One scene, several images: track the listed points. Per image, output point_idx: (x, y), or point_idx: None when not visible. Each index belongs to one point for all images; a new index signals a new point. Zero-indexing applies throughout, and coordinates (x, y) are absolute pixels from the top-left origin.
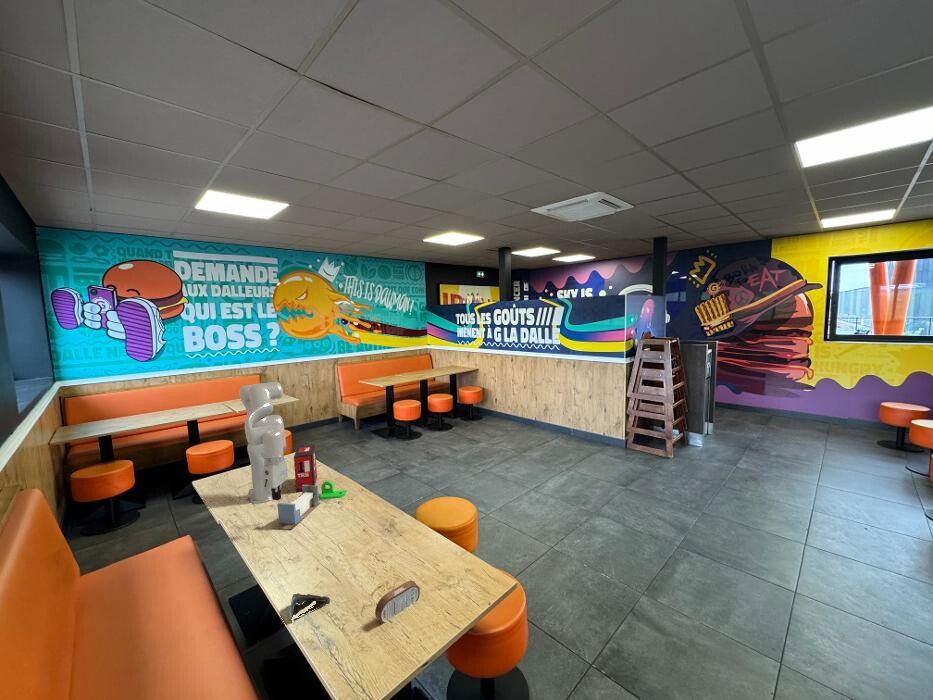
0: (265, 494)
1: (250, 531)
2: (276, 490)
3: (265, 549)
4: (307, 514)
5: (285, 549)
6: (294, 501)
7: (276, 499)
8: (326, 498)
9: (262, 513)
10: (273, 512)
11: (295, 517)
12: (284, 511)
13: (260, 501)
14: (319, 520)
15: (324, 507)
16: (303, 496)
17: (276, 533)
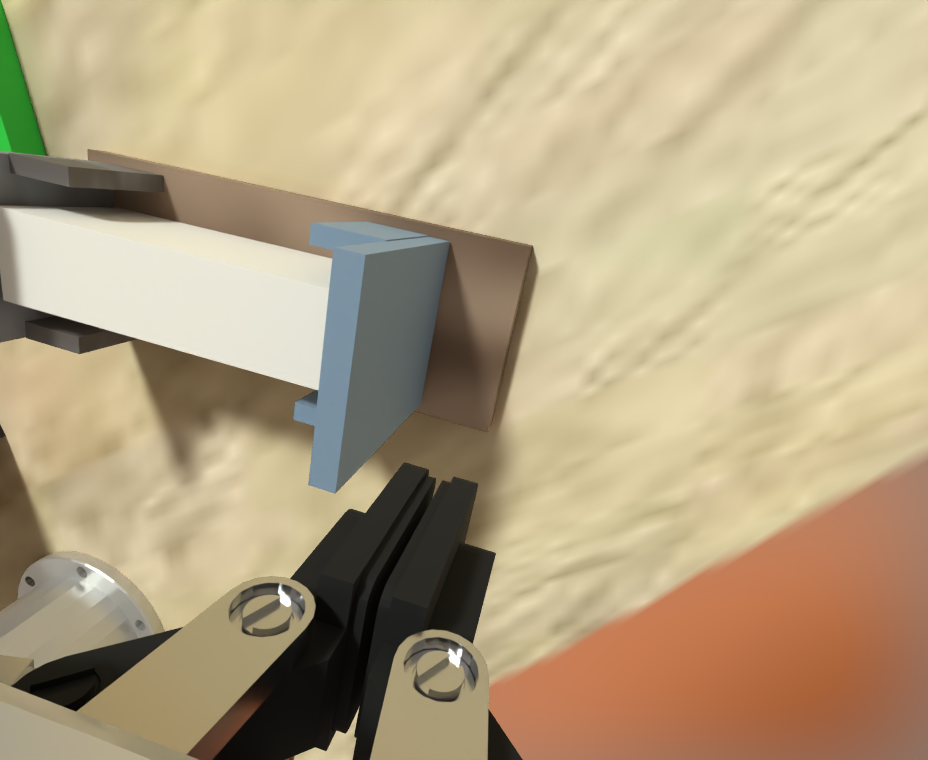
0: (84, 639)
1: (499, 581)
2: (461, 701)
3: (811, 371)
4: (281, 192)
5: (868, 162)
6: (188, 346)
7: (465, 532)
8: (18, 122)
9: None
10: (253, 507)
11: (417, 241)
12: (385, 378)
13: (145, 635)
14: (354, 24)
15: (142, 86)
16: (85, 285)
17: (550, 373)
